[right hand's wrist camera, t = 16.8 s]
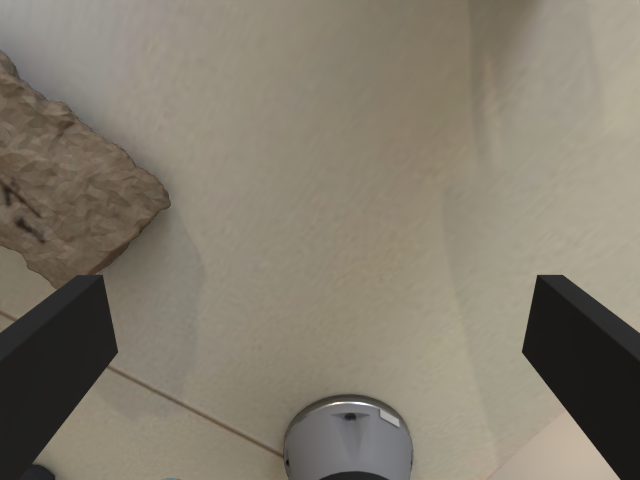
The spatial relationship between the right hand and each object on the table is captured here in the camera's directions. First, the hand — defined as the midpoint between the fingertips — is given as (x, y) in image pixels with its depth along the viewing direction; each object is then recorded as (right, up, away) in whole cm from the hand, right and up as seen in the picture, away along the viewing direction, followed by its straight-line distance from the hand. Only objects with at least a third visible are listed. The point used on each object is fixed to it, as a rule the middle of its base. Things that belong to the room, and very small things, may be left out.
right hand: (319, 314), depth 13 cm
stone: (-25, +9, +25) cm, 37 cm away
